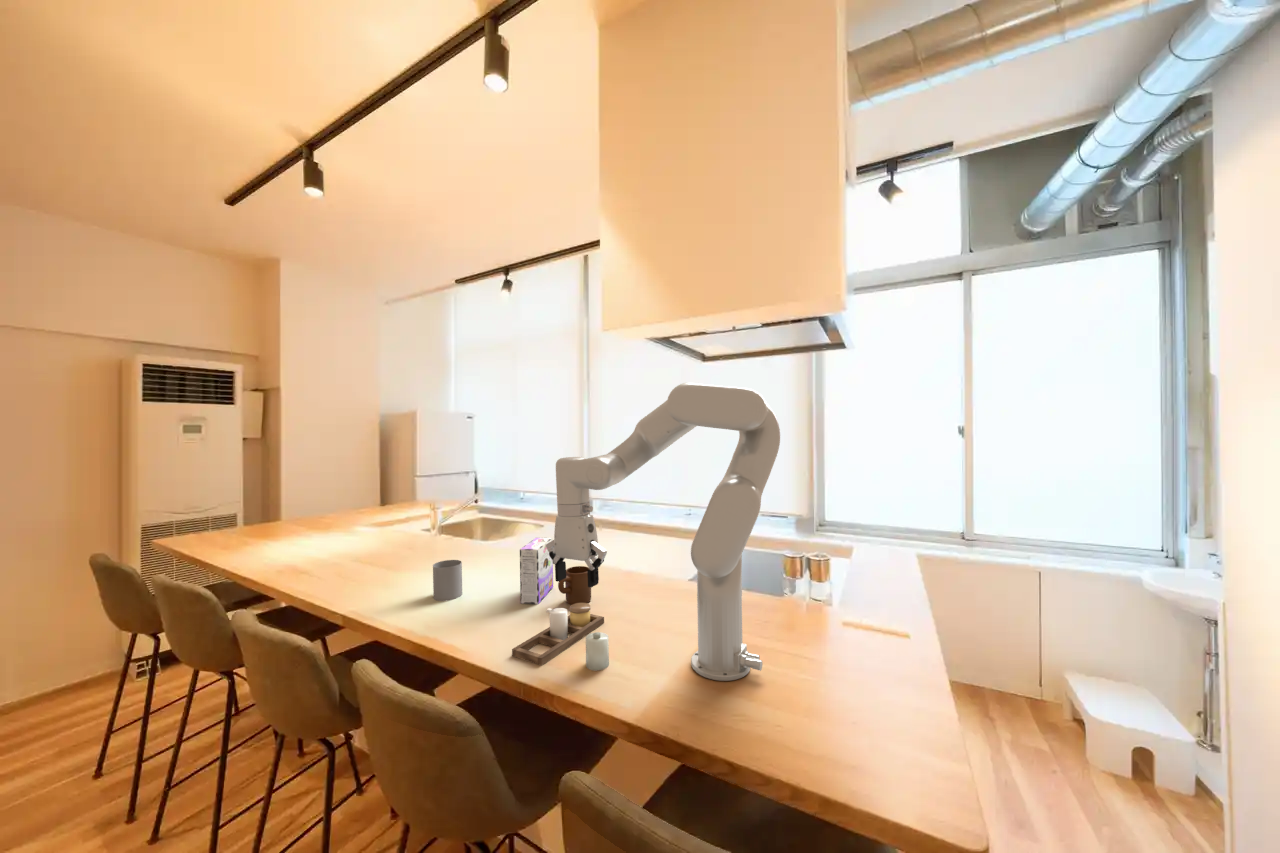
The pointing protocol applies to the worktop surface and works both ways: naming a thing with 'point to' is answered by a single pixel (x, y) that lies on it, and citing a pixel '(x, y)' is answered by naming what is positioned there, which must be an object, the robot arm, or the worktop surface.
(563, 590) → the mug
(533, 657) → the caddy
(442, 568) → the cup
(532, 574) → the candy box
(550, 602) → the worktop surface
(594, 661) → the sugar pot
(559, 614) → the cylinder
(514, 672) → the worktop surface
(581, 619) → the honey jar
